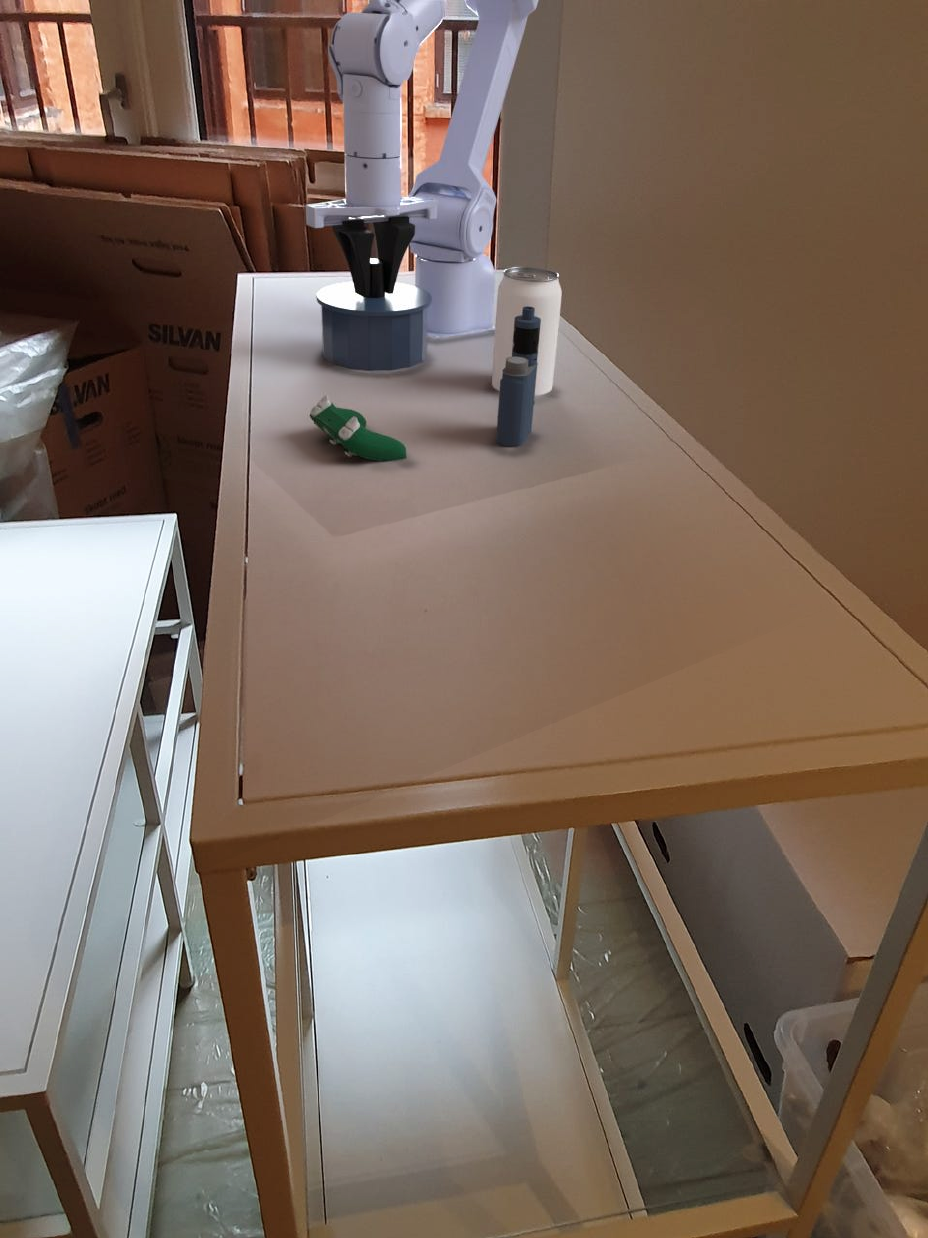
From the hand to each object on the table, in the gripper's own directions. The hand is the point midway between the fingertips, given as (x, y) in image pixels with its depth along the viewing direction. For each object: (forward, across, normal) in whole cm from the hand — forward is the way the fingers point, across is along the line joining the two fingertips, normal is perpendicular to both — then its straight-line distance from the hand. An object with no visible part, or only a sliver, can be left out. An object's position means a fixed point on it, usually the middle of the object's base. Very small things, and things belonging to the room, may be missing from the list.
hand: (374, 292), depth 100 cm
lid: (+1, 0, 0) cm, 1 cm away
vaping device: (+7, 0, -27) cm, 28 cm away
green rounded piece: (+7, -14, -22) cm, 27 cm away
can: (+7, +9, -16) cm, 20 cm away
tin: (+7, 0, 0) cm, 7 cm away
